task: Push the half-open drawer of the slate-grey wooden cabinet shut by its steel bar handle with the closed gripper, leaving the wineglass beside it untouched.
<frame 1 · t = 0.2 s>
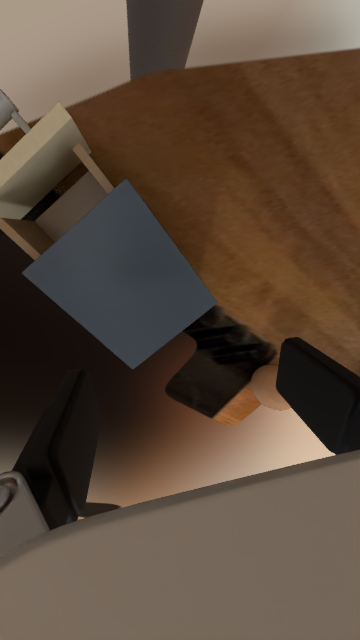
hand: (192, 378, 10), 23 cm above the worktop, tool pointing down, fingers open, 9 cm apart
drawer: (69, 210, 22), point 5 cm above the worktop, slide at 5.5 cm
cabinet: (132, 273, 30), on the worktop
egg: (260, 372, 42), on the worktop
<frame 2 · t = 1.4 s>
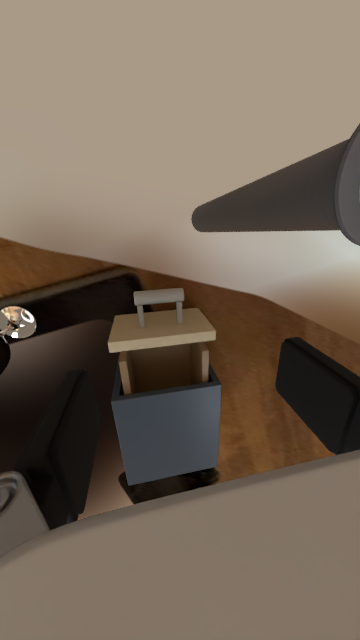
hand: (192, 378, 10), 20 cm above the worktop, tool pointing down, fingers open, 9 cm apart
wineglass: (18, 321, 27), on the worktop
drawer: (162, 354, 27), point 5 cm above the worktop, slide at 5.5 cm
cabinet: (163, 388, 35), on the worktop
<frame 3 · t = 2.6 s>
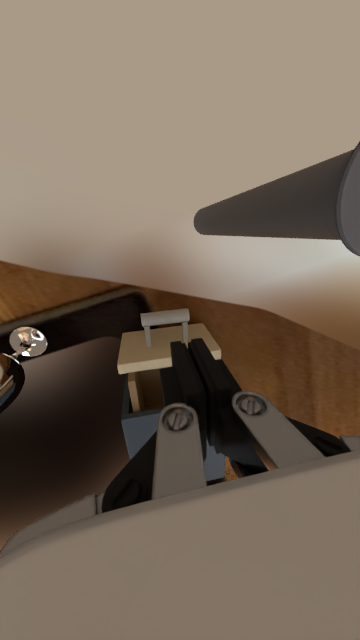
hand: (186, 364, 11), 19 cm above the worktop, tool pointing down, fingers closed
wineglass: (29, 341, 28), on the worktop
drawer: (169, 371, 28), point 5 cm above the worktop, slide at 5.5 cm
cabinet: (170, 399, 36), on the worktop
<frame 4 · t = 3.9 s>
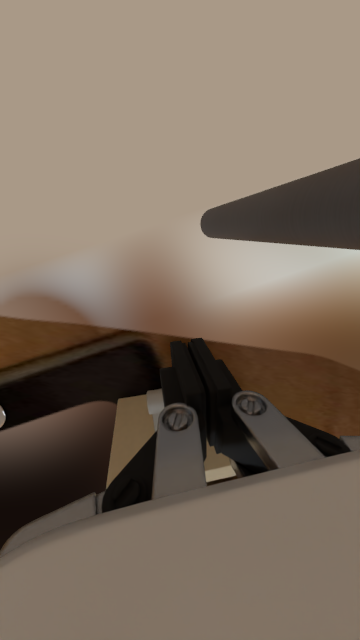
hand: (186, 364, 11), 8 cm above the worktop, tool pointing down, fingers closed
drawer: (188, 460, 19), point 5 cm above the worktop, slide at 5.5 cm
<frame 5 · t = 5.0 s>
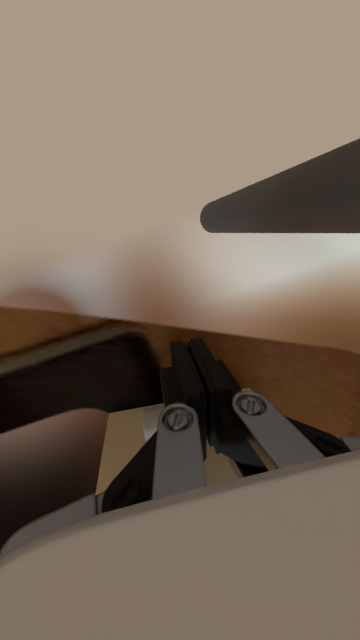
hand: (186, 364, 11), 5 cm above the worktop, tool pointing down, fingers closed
drawer: (196, 488, 15), point 5 cm above the worktop, slide at 4.8 cm, touching gripper
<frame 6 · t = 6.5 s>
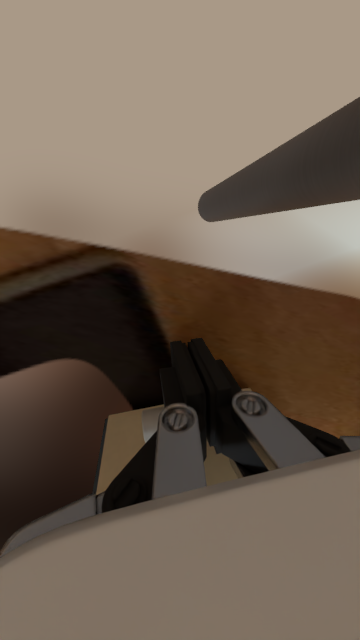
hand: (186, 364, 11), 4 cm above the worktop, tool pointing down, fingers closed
drawer: (197, 490, 15), point 5 cm above the worktop, slide at 0.0 cm, touching cabinet, gripper
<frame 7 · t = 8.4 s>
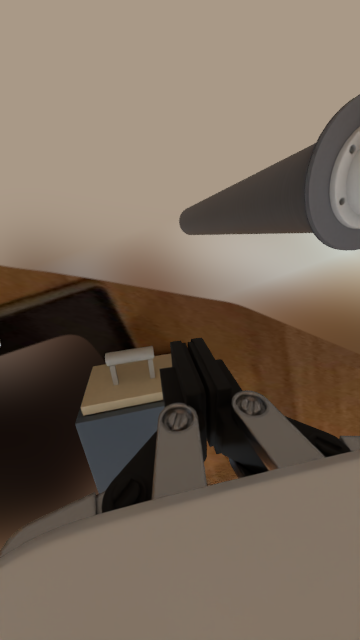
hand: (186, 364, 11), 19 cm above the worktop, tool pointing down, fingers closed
drawer: (139, 403, 29), point 5 cm above the worktop, slide at 0.0 cm, touching cabinet
cabinet: (141, 400, 34), on the worktop
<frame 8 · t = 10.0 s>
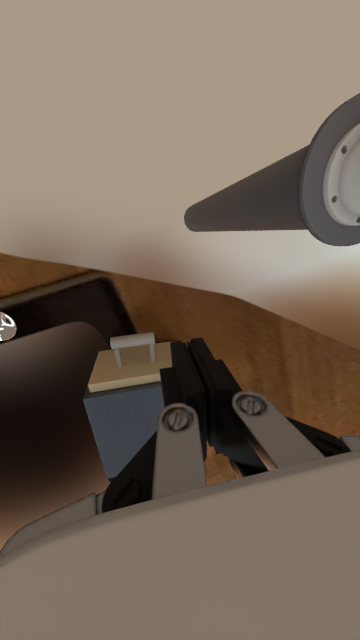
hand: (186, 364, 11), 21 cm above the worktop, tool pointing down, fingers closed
drawer: (141, 386, 31), point 5 cm above the worktop, slide at 0.0 cm, touching cabinet
cabinet: (143, 385, 37), on the worktop
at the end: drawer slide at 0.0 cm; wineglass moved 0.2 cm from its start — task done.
